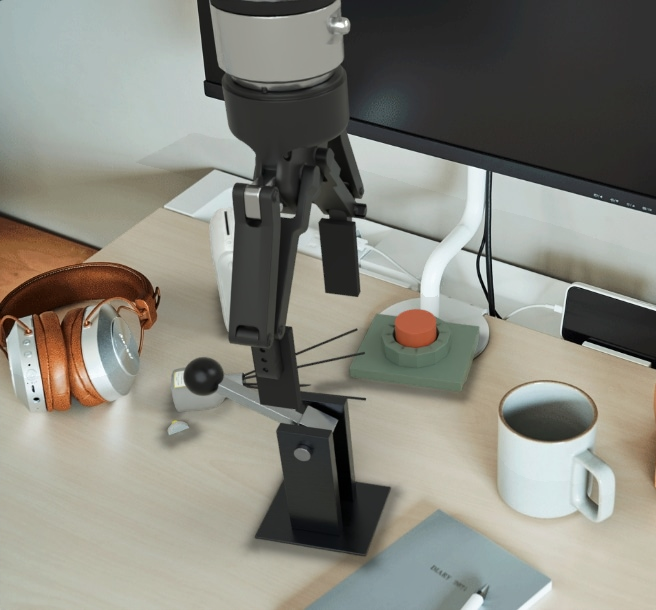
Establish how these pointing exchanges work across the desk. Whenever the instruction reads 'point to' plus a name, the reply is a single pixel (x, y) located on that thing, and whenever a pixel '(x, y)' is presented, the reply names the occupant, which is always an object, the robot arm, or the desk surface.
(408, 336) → the button
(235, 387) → the tap lever
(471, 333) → the button block
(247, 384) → the reed diffuser
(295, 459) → the bracket
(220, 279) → the photo printer
